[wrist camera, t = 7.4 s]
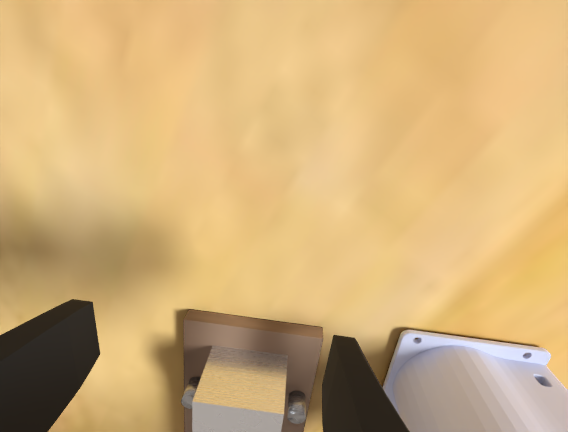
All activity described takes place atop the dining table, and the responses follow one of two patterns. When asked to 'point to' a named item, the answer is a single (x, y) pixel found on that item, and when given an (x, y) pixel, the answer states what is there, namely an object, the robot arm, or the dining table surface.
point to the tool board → (257, 337)
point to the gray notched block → (240, 392)
